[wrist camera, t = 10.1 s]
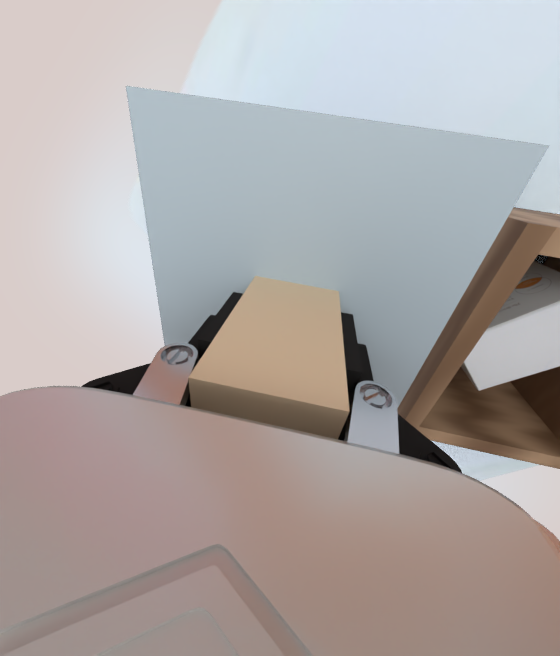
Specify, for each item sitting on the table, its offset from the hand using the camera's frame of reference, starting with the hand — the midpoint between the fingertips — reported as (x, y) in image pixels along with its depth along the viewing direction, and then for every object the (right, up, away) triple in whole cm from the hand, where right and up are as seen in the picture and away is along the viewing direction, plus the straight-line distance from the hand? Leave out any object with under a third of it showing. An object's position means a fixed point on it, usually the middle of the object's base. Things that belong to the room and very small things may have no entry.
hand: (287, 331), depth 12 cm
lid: (+1, +2, +3) cm, 3 cm away
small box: (+18, +4, +14) cm, 24 cm away
